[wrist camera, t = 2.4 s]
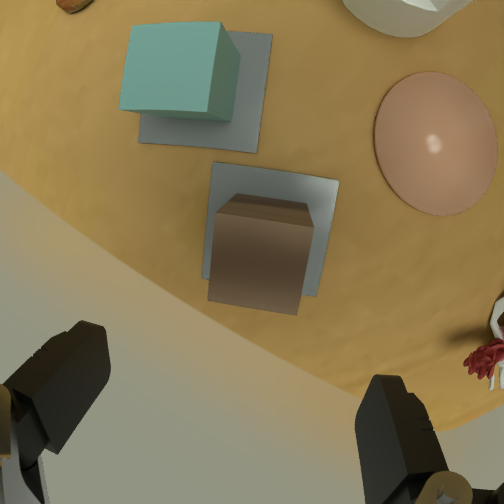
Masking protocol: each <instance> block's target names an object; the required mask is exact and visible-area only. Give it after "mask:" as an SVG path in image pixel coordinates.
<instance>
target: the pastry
mask: <svg viewBox="0 0 504 504" xmlns="http://www.w3.org/2000/svg"><path fill="white" fill-rule="evenodd" d="M91 1H92V0H56V3H57V6H59V7H60V8H62V9H64V10H66V12H68V13H72V12H75V11H78V10H80V9H82V8H83V7H84V6H86V5H87V4H89V3H90V2H91Z"/></svg>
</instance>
